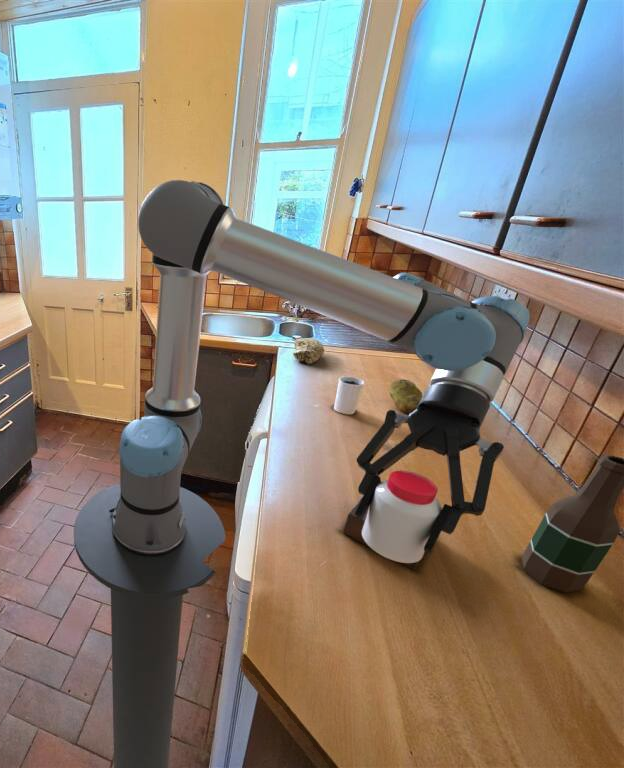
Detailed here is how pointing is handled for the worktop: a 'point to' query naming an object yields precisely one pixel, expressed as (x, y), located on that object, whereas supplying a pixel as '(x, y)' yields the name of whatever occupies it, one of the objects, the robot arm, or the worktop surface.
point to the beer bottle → (577, 531)
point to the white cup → (348, 394)
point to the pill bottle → (402, 516)
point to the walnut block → (356, 526)
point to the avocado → (405, 395)
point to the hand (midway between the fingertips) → (391, 532)
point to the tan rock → (308, 350)
